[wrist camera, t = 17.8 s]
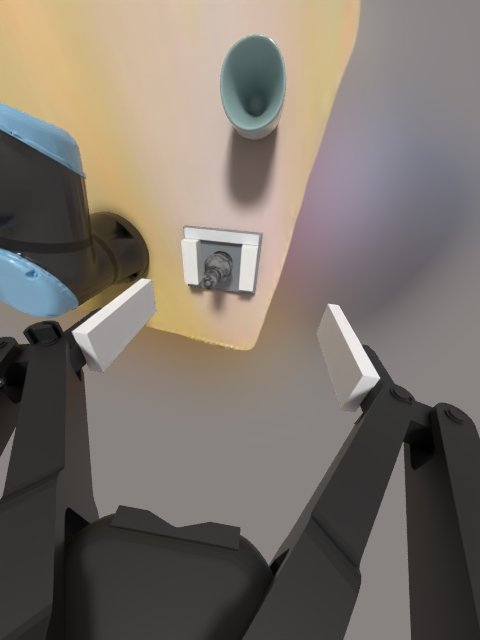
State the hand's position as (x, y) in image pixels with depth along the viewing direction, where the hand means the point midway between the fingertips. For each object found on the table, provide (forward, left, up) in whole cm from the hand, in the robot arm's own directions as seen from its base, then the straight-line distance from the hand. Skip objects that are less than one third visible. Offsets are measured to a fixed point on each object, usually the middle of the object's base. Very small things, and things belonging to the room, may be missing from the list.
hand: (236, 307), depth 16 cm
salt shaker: (-7, -7, -30) cm, 32 cm away
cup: (-2, +17, -31) cm, 36 cm away
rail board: (-7, -7, -31) cm, 33 cm away
